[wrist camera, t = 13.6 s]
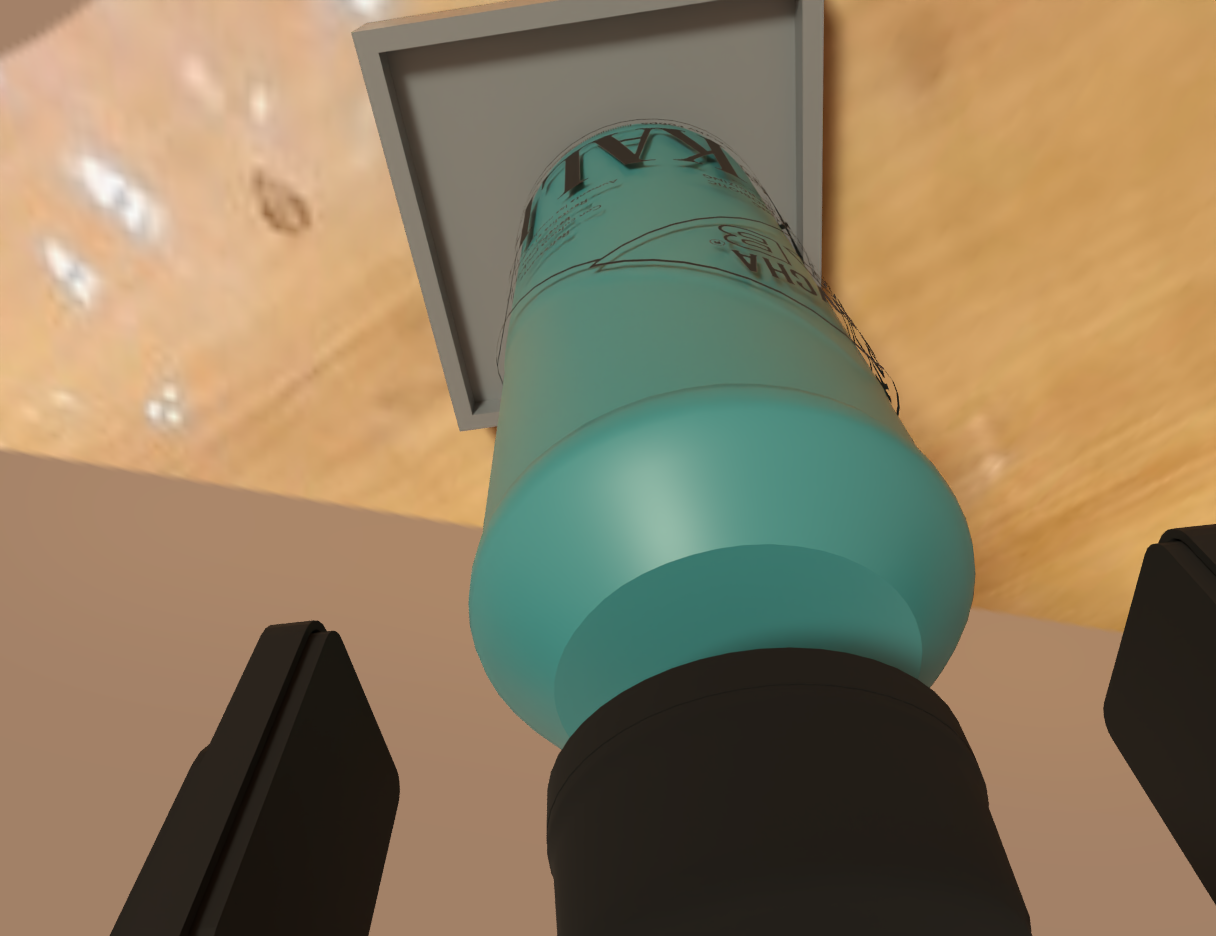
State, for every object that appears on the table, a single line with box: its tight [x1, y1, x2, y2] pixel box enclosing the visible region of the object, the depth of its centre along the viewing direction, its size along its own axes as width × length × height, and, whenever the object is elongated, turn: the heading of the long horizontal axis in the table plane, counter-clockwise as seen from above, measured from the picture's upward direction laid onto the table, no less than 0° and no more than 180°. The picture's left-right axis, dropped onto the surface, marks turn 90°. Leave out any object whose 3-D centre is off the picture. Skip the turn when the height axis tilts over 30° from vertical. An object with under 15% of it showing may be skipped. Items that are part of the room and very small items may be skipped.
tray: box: [351, 0, 824, 431], centre depth 23 cm, size 11×11×2 cm
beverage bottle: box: [469, 119, 1032, 936], centre depth 15 cm, size 6×7×20 cm
